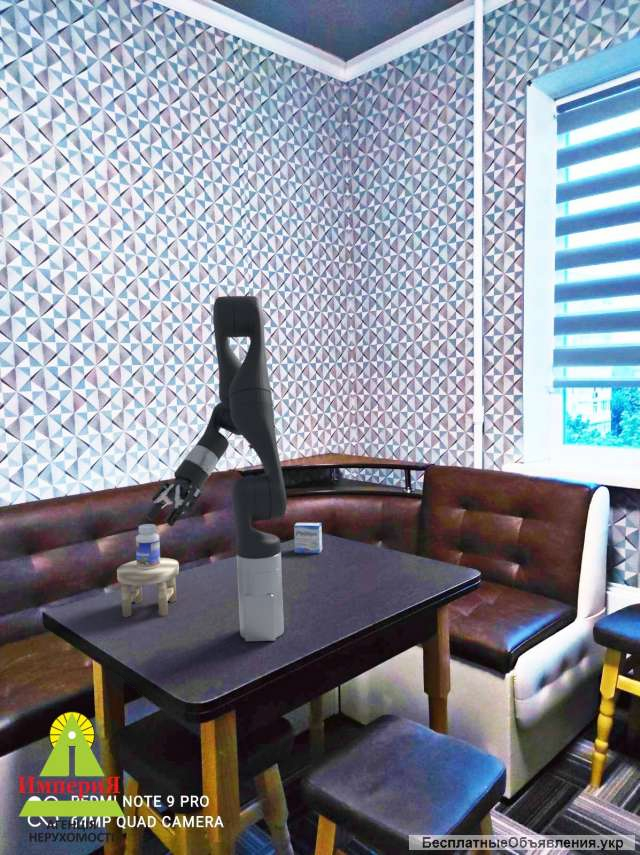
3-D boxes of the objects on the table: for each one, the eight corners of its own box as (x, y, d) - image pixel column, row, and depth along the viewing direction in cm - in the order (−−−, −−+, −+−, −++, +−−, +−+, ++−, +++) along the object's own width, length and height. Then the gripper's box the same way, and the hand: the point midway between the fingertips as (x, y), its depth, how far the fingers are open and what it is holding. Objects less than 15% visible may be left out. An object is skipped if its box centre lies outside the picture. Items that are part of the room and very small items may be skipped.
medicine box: (294, 553, 184) (293, 525, 183) (297, 549, 188) (296, 521, 187) (320, 553, 182) (319, 525, 182) (322, 549, 187) (321, 522, 186)
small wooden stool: (172, 618, 136) (170, 575, 136) (110, 620, 136) (108, 577, 135) (186, 596, 150) (184, 556, 149) (130, 597, 150) (127, 558, 149)
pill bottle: (131, 568, 141) (129, 527, 141) (147, 561, 146) (146, 522, 146) (149, 571, 139) (147, 529, 138) (165, 564, 144) (163, 524, 143)
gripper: (171, 456, 154) (132, 508, 147) (203, 460, 144) (164, 516, 137) (190, 474, 158) (153, 525, 151) (222, 479, 148) (185, 534, 141)
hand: (158, 521), depth 144 cm, fingers open, 8 cm apart
